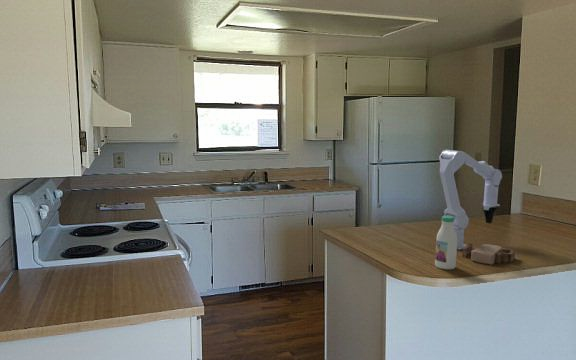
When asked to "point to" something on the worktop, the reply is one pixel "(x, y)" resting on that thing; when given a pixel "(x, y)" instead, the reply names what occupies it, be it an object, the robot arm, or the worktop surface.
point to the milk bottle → (446, 244)
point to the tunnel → (503, 256)
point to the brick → (485, 253)
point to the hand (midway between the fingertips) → (488, 222)
